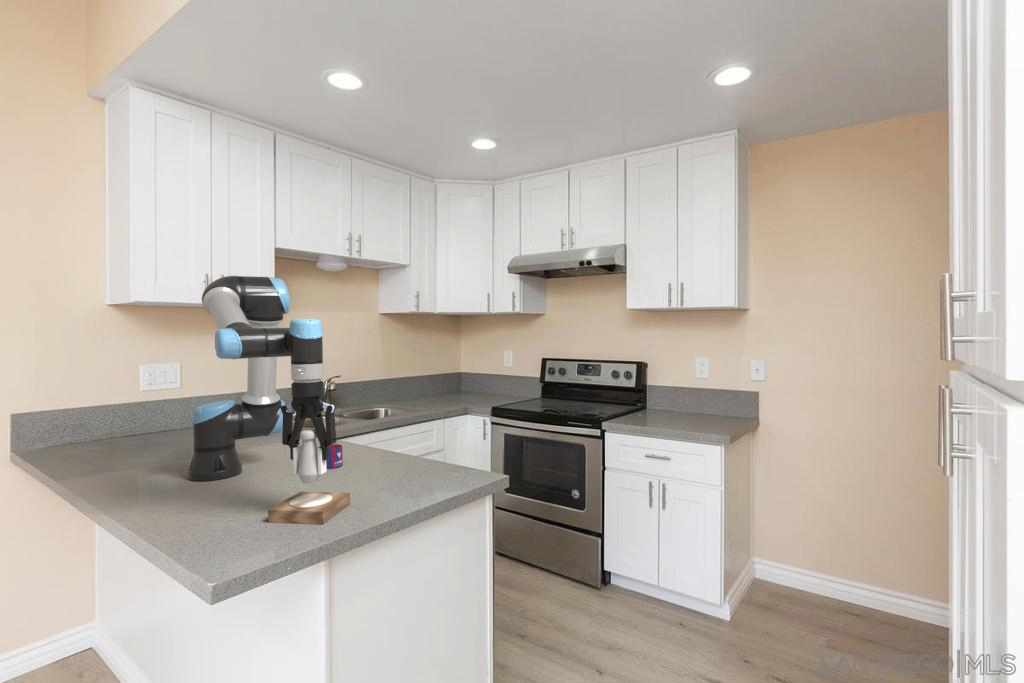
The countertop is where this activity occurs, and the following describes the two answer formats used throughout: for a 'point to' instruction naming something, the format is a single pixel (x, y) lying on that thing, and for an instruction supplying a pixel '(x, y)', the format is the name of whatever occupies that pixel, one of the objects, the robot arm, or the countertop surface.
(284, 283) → the robot arm
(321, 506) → the stand
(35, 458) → the countertop surface
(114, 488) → the countertop surface
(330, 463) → the mug
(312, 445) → the salt shaker
